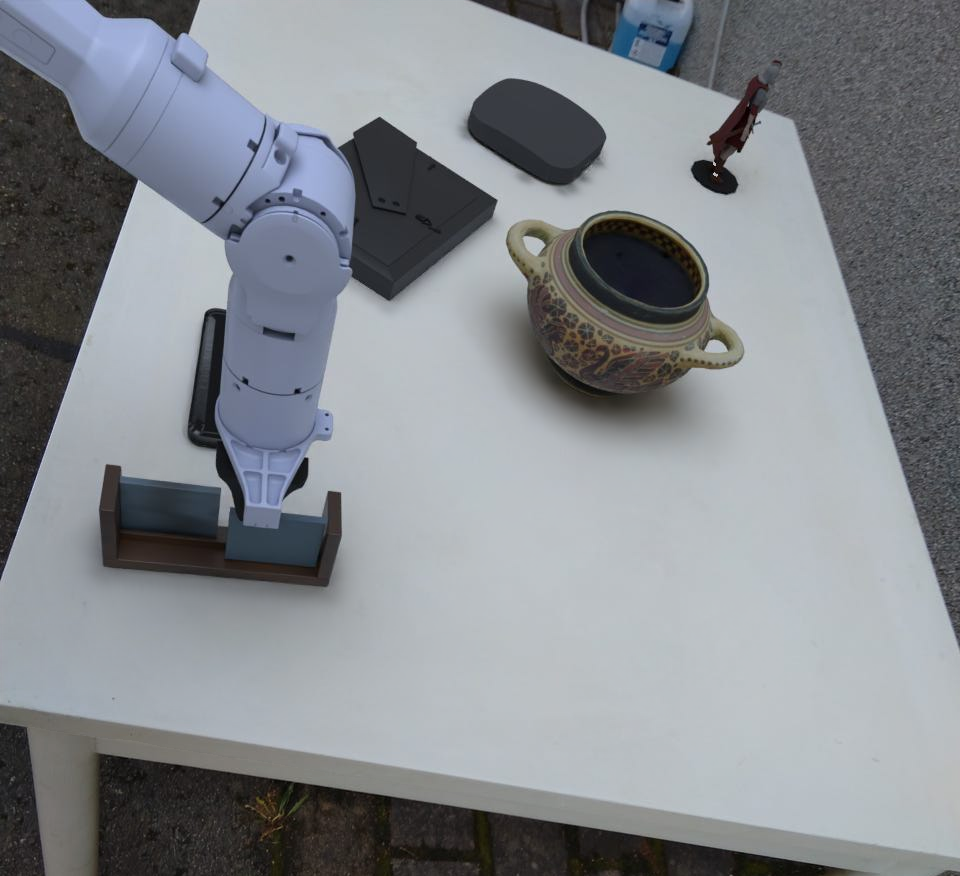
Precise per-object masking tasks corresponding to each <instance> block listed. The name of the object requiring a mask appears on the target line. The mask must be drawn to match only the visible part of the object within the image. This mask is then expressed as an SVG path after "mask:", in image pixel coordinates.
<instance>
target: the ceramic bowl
mask: <svg viewBox="0 0 960 876" xmlns="http://www.w3.org/2000/svg"><path fill="white" fill-rule="evenodd" d="M525 237H530V238H534V239H538V240H539V241H541V242H542V243H543V244H544V247H543V248H542V249H541V250H540V251H539V253H538V254H537V256H536V255H534V254H533V253H532V252H530V251H529V250H528V249H527V247H526V245H525V241H524V238H525ZM505 245H506V247H507V251H508V254H509V257H510V258H511V260H512V262H513V263H514V265H515V266H516V267H517V269H518V270H519V271H520V273H521V274H522V276H523V277H524V278H525V279H526V281H527V288H526V303H527V304H526V305H527V312H528V316H529V320H530V323H531V327H532V329H533V331H534V334H535V335H536V338H537V340H538V341H539V343H540V345H541V346H542V348H543V349H544V351H545V355H546V359H547V361H548V363H549V365H550V367H551V368H552V369H553V371H554V372H555V373H556V375H557V376H558V377H559V378H560V379H561V380H562V381H563V382H564V383H565V384H567V385H568V386H570V387H571V388H573V389H574V390H576V391H578V392H581V393H583V394H586V395H589V396H590V397H598V398H613V397H617V396H621V395H624V394H642V393H646V392H653V391H656V390H659V389H663V388H665V387H667V386H669V385H671V384H674V383H675V382H676V381H679V379H681V378H682V377H683V376H685V375H686V374H687V373H689V371H690V370H692V369H705V370H710V371H711V370H714V371H715V370H716V371H717V370H723V369H728V368H732V367H734V366H736V365H738V364H739V363H740V362H741V361H742V360H743V359H744V355H745V347H744V342H743V341H742V340H741V338H740V336H739V334H738V333H737V331H736V330H735V329H734V328H732V327H731V326H730V325H728V324H727V323H725V322H723V321H722V320H721V319H719V318H718V317H717V316H715V315H714V313H713V312H712V310H711V305H710V301H709V298H708V293H709V289H710V274H709V270H708V267H707V265H706V262H705V261H704V259H703V257H702V255H701V254H700V252H699V251H698V250H697V248H696V247H695V246H694V245H693V244H692V243H691V242H690V241H689V240H688V239H686V238H685V237H684V236H683V235H682V234H681V233H679V232H678V231H677V230H675V229H674V228H673V227H671V226H670V225H667V224H665V223H663V222H661V221H660V220H657V219H655V218H651V217H649V216H647V215H644V214H641V213H636V212H633V211H628V210H617V209H616V210H606V211H602V212H601V211H600V212H598V213H595V214H593V215H591V216H589V217H588V218H586V220H584V221H583V222H582V223H581V224H580V225H579V227H575V228H571V229H564V228H561V227H557V226H555V225H553V224H550V223H549V222H545V221H544V220H542V219H532V218H531V219H530V218H529V219H523V220H520V221H517V222H516V223H514V224H513V225H511V226H510V228H509V230H508V231H507V234H506V238H505ZM714 340H716V341H719V342H721V343H722V344H723V345H724V347H725V348H726V350H727V351H723V352H709V351H705V350H706V348H707V346H708V344H709V342H710V341H714Z"/></svg>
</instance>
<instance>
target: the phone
mask: <svg viewBox="0 0 960 876" xmlns="http://www.w3.org/2000/svg"><path fill="white" fill-rule="evenodd" d="M226 312H227V309H226V308H220V307H219V308H218V307H212V308H209V309H207V310H206V311H205V312H204V314H203V320H202V328H201V335H200V340H199V347H198V352H197V353H198V355H197V360H196V368H195V373H194V381H193V387H192V392H191V393H192V394H191V401H190V407H189V414H188V421H187V437H188V438H189V440H190V442H192V443H194V444H195V445H198V446H200V447H201V446H202V447H208V448H215V449H217V441H218V440H219V441H222V439H221V436H220V434H219V431H218V429H217V426H216V422H215V406H216V401H217V399H218V397H219V395H220V387H221V374H222V361H223V349H224V337H225V325H226Z"/></svg>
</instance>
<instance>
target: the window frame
mask: <svg viewBox="0 0 960 876" xmlns="http://www.w3.org/2000/svg"><path fill="white" fill-rule="evenodd" d="M122 471H123V470H122V466H121V465H117V464H108V463H106V464H105V466H104V475H103V479H102V486H101V493H100V499H99V506H98V516H99V517H98V519H99V530H100V543H101V554H102V555H101V557H102V566H103V567H106V568H107V567H108V568H118V569H119V568H120V569H128V570H129V569H130V570H138V571H139V570H142V571H150V572H151V571H152V572H164V573H173V574H185V575H197V576H208V577H216V578H217V577H218V578H229V579H238V580H239V579H240V580H249V581H250V580H252V581H262V582H274V583H284V584H285V583H286V584H296V585H307V586H316V587H317V586H318V587H319V586H320V587H328V586H329V584H330V580H331V577H332V574H333V569H334V567H335V562H336V559H337V555H338V551H339V548H340V544H341V540H342V536H343V520H342V518H343V517H342V516H343V514H342V513H343V512H342V492H341V491H334V490H327V493H326V496H325V501H324V505H323V509H322V513H321V517H325V518H326V526H325V530H324V534H323V538H322V542H321V546H320V550H319V554H318V558H317V562H316V566H315V567H307V566H296V565H286V564H275V563H265V562H254V561H244V560H234V559H225V550H226V540H227V531H228V526H225V525H224V526H223V525H219V517H220V506H221V505H220V504H221V493H222V488H221V487H219V486H218V487H217V486H211V485H210V486H209V485H201V484H192V483H184V482H175V481H167V480H159V479H151V478H150V479H149V478H143V477H142V478H141V477H133V476H132V477H131V476H123V474H122V473H123V472H122Z"/></svg>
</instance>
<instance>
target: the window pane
mask: <svg viewBox="0 0 960 876" xmlns="http://www.w3.org/2000/svg"><path fill="white" fill-rule="evenodd" d="M228 513H229V514H228V521H227V527H228V531H227V540H226V550H225V559H234V560H244V561H254V562H265V563H275V564H286V565H296V566H307V567H315V566H316V562H317V558H318V554H319V550H320V546H321V542H322V538H323V534H324V530H325V526H326V518H325V517H322V516H317V515H308V514H307V515H306V514H300V513H299V514H298V513H288V512H281V515H280V520H279V526H278V529H273V528H261V527H255V526H245V525H243V521H240V520H239V519H238V517H237V514H236V511H235V507H234V506H230V507H229V512H228Z"/></svg>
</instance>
